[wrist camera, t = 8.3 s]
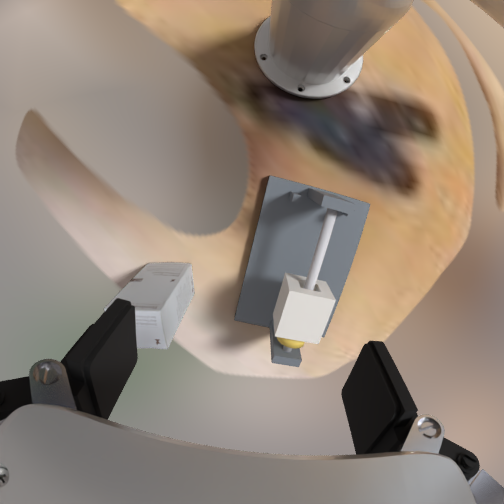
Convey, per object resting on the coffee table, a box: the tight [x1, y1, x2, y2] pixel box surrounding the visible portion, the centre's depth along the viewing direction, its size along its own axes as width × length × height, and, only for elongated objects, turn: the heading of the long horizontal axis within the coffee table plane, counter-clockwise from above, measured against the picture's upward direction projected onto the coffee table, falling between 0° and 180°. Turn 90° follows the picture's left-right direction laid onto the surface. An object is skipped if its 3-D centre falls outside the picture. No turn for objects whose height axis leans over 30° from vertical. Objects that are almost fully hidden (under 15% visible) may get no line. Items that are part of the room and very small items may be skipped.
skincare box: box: [104, 262, 195, 349], centre depth 30 cm, size 6×4×12 cm
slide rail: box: [234, 176, 370, 367], centre depth 31 cm, size 18×12×8 cm, turn 167°
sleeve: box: [273, 272, 336, 344], centre depth 29 cm, size 5×4×4 cm
